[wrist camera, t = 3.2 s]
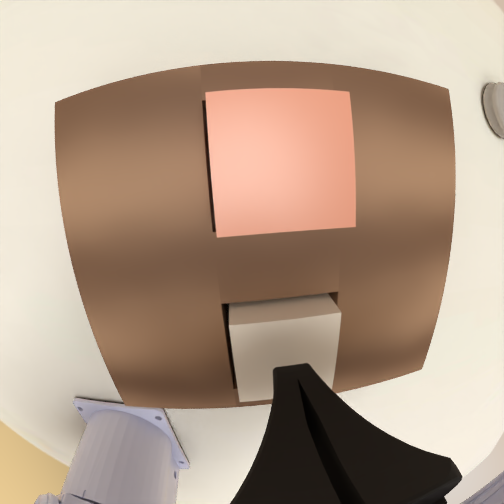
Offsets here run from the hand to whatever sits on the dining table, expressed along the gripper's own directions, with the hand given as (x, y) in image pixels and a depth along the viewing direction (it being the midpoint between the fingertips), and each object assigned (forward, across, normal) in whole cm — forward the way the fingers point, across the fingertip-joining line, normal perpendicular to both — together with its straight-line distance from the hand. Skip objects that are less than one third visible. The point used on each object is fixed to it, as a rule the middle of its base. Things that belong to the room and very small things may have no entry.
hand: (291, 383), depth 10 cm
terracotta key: (+4, 0, -8) cm, 9 cm away
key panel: (+5, 0, -4) cm, 7 cm away
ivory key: (+5, 0, 0) cm, 5 cm away
